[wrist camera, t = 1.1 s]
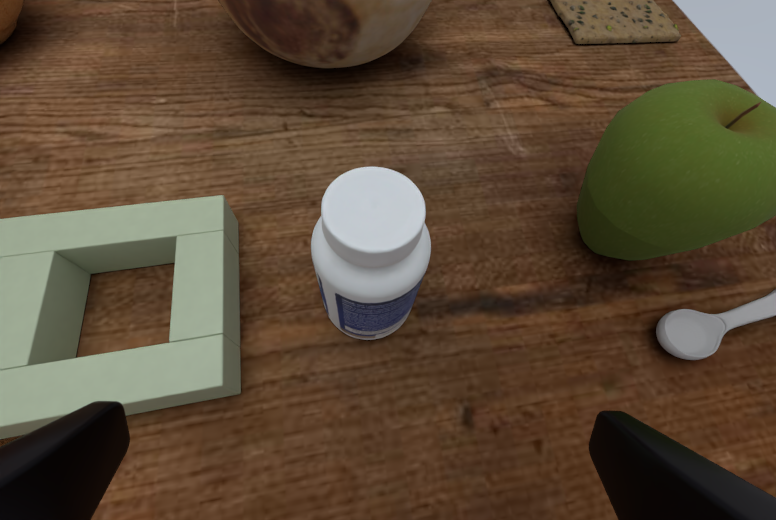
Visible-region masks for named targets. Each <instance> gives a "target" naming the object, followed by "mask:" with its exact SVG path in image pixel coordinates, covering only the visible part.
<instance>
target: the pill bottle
mask: <svg viewBox="0 0 776 520" xmlns="http://www.w3.org/2000/svg"><path fill="white" fill-rule="evenodd" d="M321 214H322V216H321V217H320V218H319V220H318V222H317V224H316V226H315V228H314V231H313V234H312V240H311V252H312V260H313V264H314V267H315V271H316V275H317V279H318V283H319V287H320V291H321V295H322V299H323V303H324V306H325V309H326V312H327V314H328V316H329V318H330V320H331V321H332V323H333V324H334V325H335V326H336V327H337V328H338V329H339V330H341V331H342V332H344V333H345V334H347V335H349V336H351V337H353V338H357V339H362V340H374V339H379V338H383V337H385V336H387V335H389V334H391V333H393V332H394V331H396V330H397V329H398V328H399V327H400V326H401V325H402V324H403V323H404V322H405V320H406V318H407V317H408V315H409V313H410V311H411V308H412V305H413V303H414V300H415V297H416V295H417V292H418V290H419V287H420V284H421V282H422V279H423V277H424V274H425V272H426V270H427V267H428V263H429V259H430V253H431V241H430V236H429V232H428V229H427V227H426V225H425V223H424V221H425V214H426V208H425V202H424V199H423V196H422V194H421V192H420V191H419V189H418V188H417V187H416V185H415V184H414V183H413V182H412V181H411V180H410V179H408V178H407V177H405V176H404V175H402V174H400V173H398V172H396V171H393V170H390V169H387V168H382V167H362V168H357V169H353V170H351V171H348V172H346V173H344V174H342V175H340V176H339V177H338V178H336V179H335V180H334V181H333V182H332V183H331V184H330V185H329V187H328V188H327V190H326V192H325V194H324V196H323V200H322V205H321Z"/></svg>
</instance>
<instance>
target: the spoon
mask: <svg viewBox="0 0 776 520" xmlns="http://www.w3.org/2000/svg"><path fill="white" fill-rule="evenodd" d="M773 316H776V289H775V290H774V291H772V292H771V293H770V294H768V295H767V296H765V297H763V298H760V299H757V300H755V301H752V302H750V303H747V304H745V305H742V306H740V307H737V308H735V309H732V310H729V311H727V312H724V313H720V314H706V313H701V312H698V311H695V310H690V309H680V310H675V311H671V312H669V313H667V314H666V315H664V316H663V317H662V318H661V319H660V320H659V322H658V324H657V327H656V336H657V339H658V341H659V343H660V345H661V346H662V347H663V348H664V349H665V350H666V351H667V352H668V353H670V354H672V355H674V356H676V357H678V358H681V359H686V360H699V359H703V358H706V357H708V356H710V355H711V354H713V353H714V352H715V351H716V350H717V349H718V347H719V344H720V341H721V339H722V337H723V336H724V334H725V333H726V332H727V331H728V330H730V329H733V328H735V327H738V326H742V325H745V324H748V323H752V322H756V321H759V320H763V319H766V318H770V317H773Z"/></svg>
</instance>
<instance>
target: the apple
mask: <svg viewBox="0 0 776 520" xmlns="http://www.w3.org/2000/svg"><path fill="white" fill-rule="evenodd" d="M774 216H776V108H775V107H773V106H772V105H770V104H769V103H767V102H766V101H764V100H762V99H761V98H759V97H758V96H756V95H754V94H752V93H750V92H748V91H746V90H744V89H742V88H740V87H738V86H736V85H732V84H729V83H725V82H722V81H718V80H715V79H714V80H694V81H685V82H677V83H669V84H665V85H663V86H660V87H658V88H655V89H653V90H650V91H648V92H646V93H645V94H643V95H642V96H640V97H639V98H637V99H636V100H634V101H633V102H631V103H630V104H628V105H627V106H625V107H624V108H622V109H621V110H619V111H618V113H617V114H616V115H615V117H614V118H613V120H612V121H611V122H610V124H609V125H608V126H607V128H606V130H605V132H604V134H603V136H602V138H601V140H600V142H599V144H598V146H597V148H596V150H595V152H594V154H593V156H592V158H591V160H590V163H589V165H588V167H587V171H586V174H585V178H584V181H583V185H582V188H581V192H580V195H579V199H578V202H577V220H578V225H579V230H580V234H581V237H582V239H583V242H584V243H585V244H586V245H587V246H588V248H589V249H591V250H592V251H593V252H595V253H596V254H600V255H603V256H608V257H613V258H618V259H623V260H628V261H633V260H646V259H650V258H655V257H660V256H665V255H670V254H674V253H679V252H684V251H689V250H694V249H698V248H701V247H704V246H706V245H709V244H712V243H715V242H717V241H720V240H723V239H726V238H728V237H731V236H734V235H736V234H739V233H742V232H745V231H747V230H750V229H753V228H755V227H756V226H758V225H760V224H762V223H763V222H765V221H767V220H769V219H770V218H772V217H774Z"/></svg>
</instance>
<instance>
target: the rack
mask: <svg viewBox="0 0 776 520" xmlns="http://www.w3.org/2000/svg"><path fill="white" fill-rule="evenodd" d="M238 254H239V238H238V221H237V219H236V217H235V216H234V214H233V212H232V210H231V208H230V206H229V204H228V203H227V201H226V199H225V197H224V196H223V195H219V196H210V197H201V198H191V199H182V200H173V201H163V202H154V203H145V204H135V205H126V206H117V207H107V208H98V209H89V210H79V211H70V212H61V213H52V214H42V215H33V216H24V217H14V218H5V219H0V439H5V438H10V437H15V436H20V435H26V434H28V433H30V432H32V431H34V430H36V429H38V428H40V427H42V426H44V425H46V424H48V423H51V422H53V421H55V420H57V419H59V418H61V417H63V416H65V415H67V414H69V413H71V412H73V411H75V410H77V409H79V408H81V407H83V406H86V405H88V404H90V403H92V402H95V401H118V402H120V403H121V404H122V405H123V406H124V410H125V415H132V414H137V413H142V412H147V411H153V410H158V409H163V408H169V407H174V406H179V405H185V404H190V403H195V402H200V401H206V400H211V399H216V398H222V397H227V396H232V395H237V394H240V393H241V368H240V348H239V347H240V299H239V255H238ZM170 263H175V267H174V281H173V294H172V308H171V322H170V336H169V342H171V343H164V344H158V345H152V346H146V347H140V348H134V349H128V350H122V351H115V352H109V353H103V354H97V355H91V356H85V357H79V358H76V354H77V348H78V343H79V337H80V332H81V326H82V321H83V315H84V310H85V304H86V299H87V294H88V288H89V283H90V277H91V274H94V273H102V272H109V271H117V270H124V269H132V268H139V267H147V266H155V265H162V264H170Z"/></svg>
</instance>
